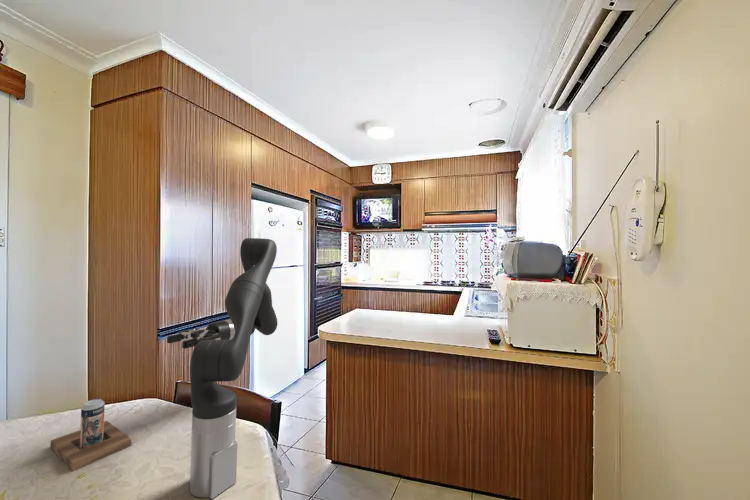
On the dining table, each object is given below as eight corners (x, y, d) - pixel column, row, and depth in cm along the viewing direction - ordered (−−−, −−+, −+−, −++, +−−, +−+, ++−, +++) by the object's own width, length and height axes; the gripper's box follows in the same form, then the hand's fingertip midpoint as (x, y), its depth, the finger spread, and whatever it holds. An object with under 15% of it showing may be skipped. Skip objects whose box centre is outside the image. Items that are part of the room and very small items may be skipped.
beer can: (82, 454, 82) (83, 408, 82) (77, 447, 85) (79, 402, 85) (105, 445, 86) (107, 401, 86) (100, 439, 89) (102, 396, 89)
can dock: (130, 445, 87) (131, 438, 87) (72, 471, 76) (72, 462, 76) (106, 427, 95) (106, 420, 95) (50, 447, 85) (50, 440, 85)
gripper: (212, 317, 112) (163, 326, 98) (238, 323, 105) (188, 333, 91) (212, 338, 112) (162, 350, 98) (237, 346, 105) (187, 360, 91)
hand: (175, 342), depth 95 cm, fingers open, 8 cm apart
